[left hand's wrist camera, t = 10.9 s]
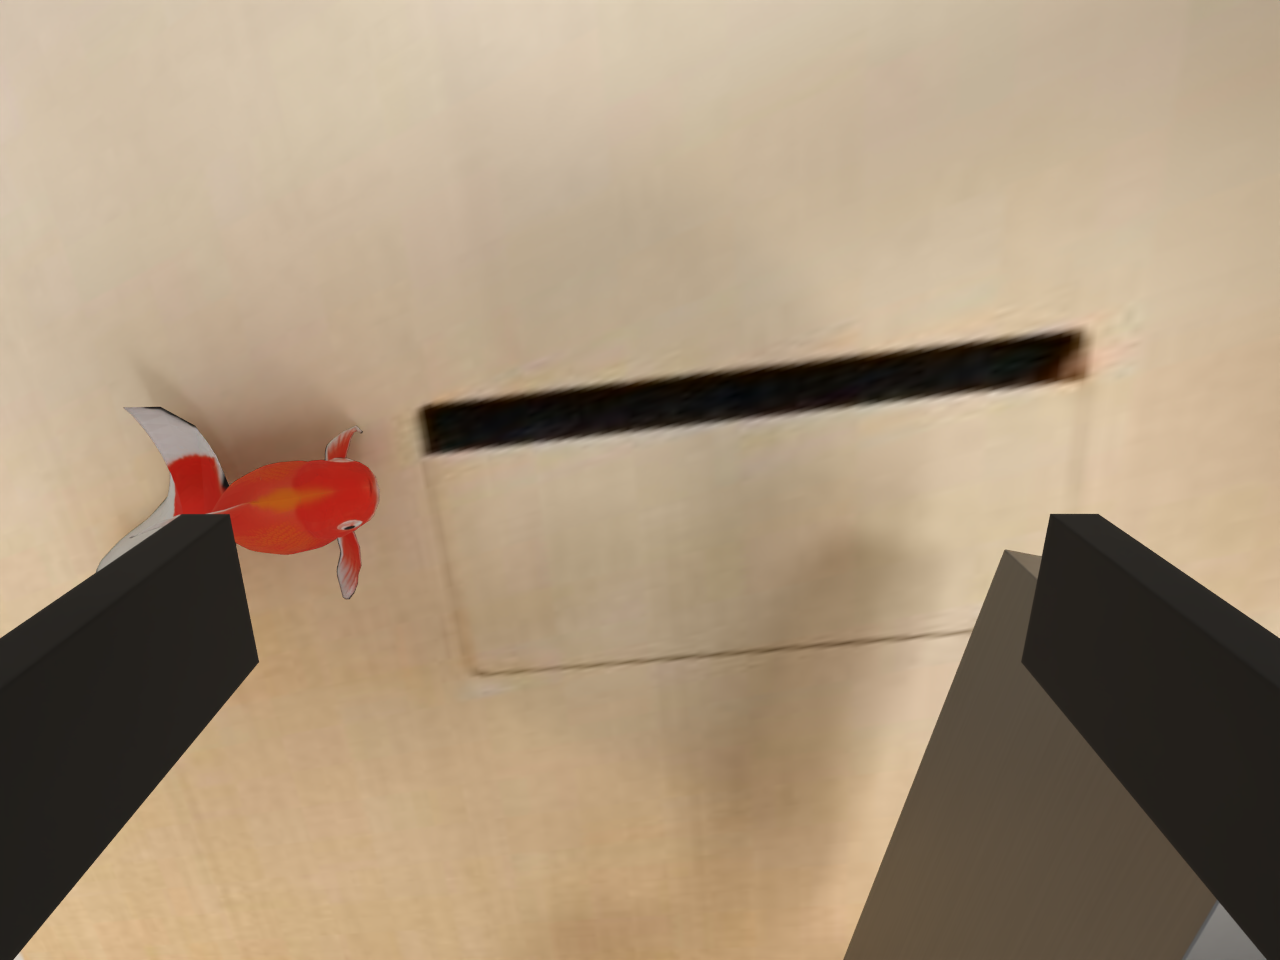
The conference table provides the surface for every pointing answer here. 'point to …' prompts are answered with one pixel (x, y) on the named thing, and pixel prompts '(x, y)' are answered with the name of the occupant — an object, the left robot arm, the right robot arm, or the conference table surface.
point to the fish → (262, 496)
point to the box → (1029, 831)
